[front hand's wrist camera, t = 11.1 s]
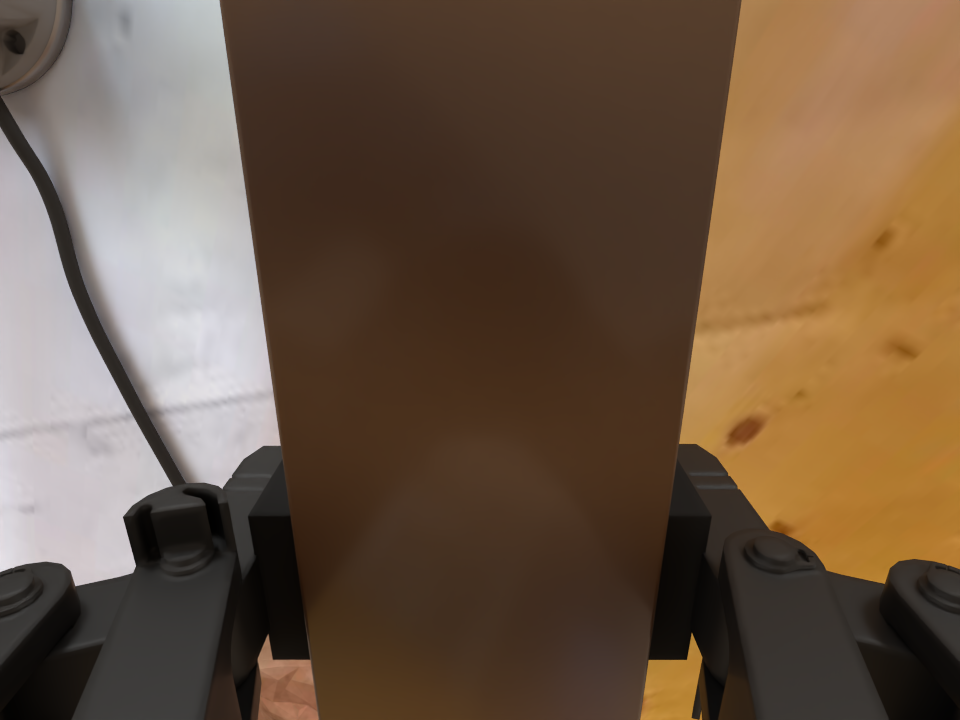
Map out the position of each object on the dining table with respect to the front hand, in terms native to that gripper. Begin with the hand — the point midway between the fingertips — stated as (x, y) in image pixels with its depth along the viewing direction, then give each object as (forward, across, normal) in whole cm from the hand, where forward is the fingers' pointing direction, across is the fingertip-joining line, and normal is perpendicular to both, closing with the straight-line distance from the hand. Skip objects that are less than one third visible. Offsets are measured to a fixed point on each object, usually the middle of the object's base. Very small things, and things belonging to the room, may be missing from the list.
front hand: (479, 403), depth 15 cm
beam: (+1, 0, -25) cm, 25 cm away
